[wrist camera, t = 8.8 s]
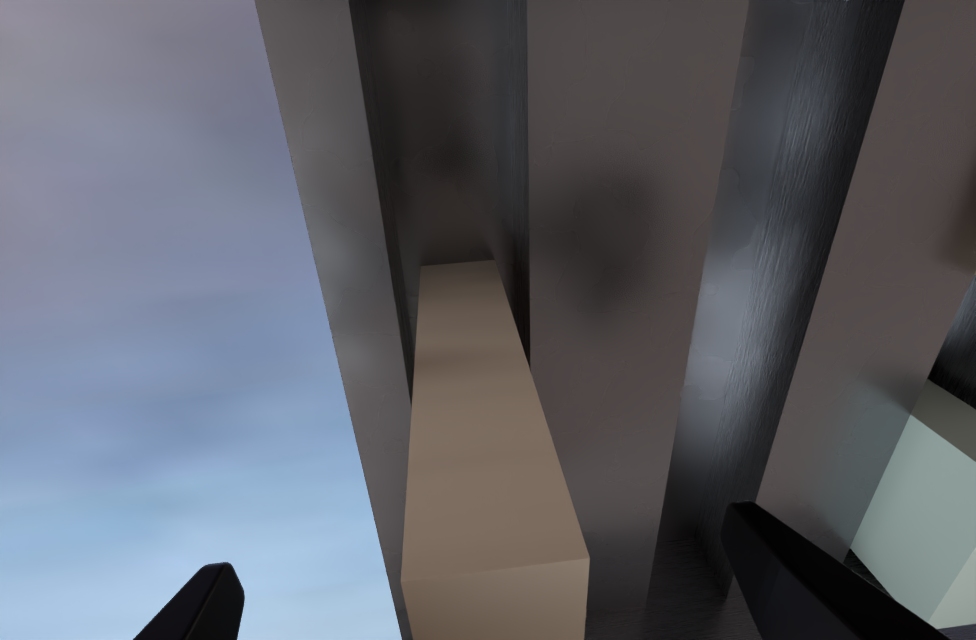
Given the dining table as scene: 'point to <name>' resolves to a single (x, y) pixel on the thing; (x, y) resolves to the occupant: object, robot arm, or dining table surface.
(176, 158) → the dining table surface
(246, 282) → the dining table surface
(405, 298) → the rack
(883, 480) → the offcut
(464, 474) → the birch panel
